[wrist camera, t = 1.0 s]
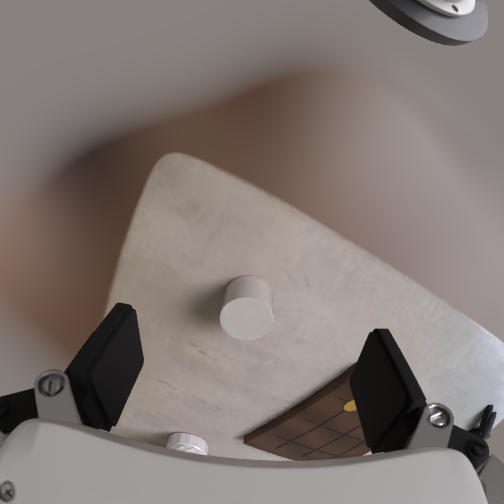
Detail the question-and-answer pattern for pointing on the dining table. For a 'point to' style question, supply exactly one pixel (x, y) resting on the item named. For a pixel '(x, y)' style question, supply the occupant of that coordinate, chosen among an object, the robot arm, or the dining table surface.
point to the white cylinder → (247, 309)
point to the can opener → (485, 424)
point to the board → (316, 427)
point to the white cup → (187, 443)
